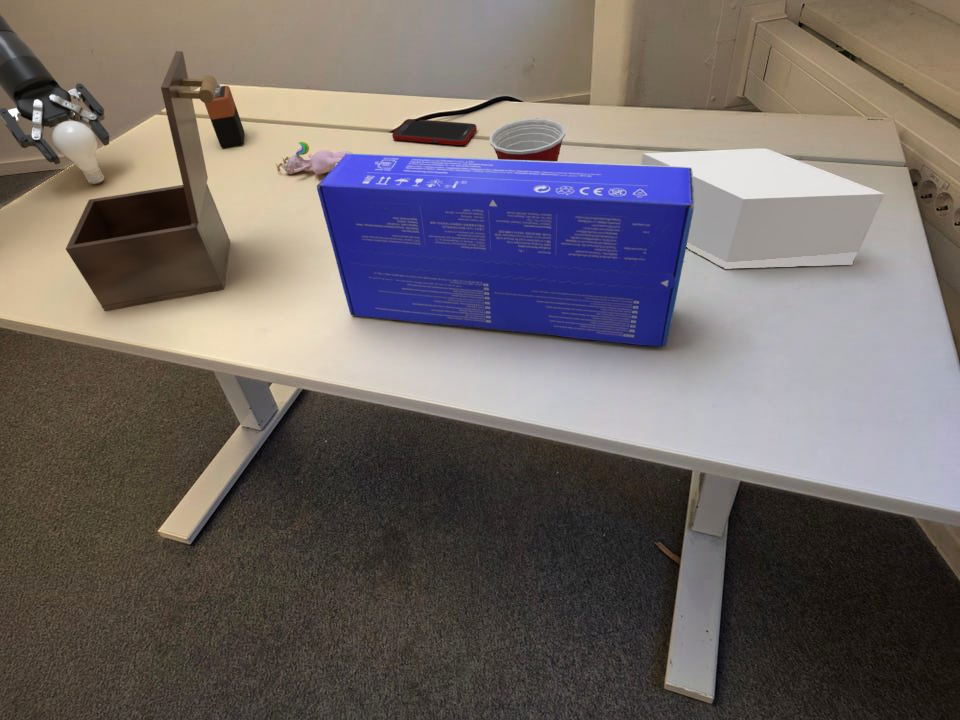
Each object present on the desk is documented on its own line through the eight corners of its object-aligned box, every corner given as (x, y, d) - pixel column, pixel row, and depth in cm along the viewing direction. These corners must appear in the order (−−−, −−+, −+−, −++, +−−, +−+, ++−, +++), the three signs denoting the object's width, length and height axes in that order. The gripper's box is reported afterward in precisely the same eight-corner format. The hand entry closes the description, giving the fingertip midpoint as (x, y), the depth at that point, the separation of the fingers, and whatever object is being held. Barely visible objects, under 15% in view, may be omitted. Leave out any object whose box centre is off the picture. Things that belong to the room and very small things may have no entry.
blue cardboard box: (666, 305, 75) (694, 165, 62) (665, 351, 69) (696, 207, 56) (371, 278, 82) (342, 147, 70) (348, 317, 77) (312, 183, 64)
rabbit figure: (277, 185, 106) (352, 178, 101) (262, 153, 102) (339, 144, 97) (294, 169, 110) (366, 161, 105) (280, 137, 106) (354, 128, 102)
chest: (104, 311, 81) (65, 249, 74) (122, 259, 90) (88, 199, 83) (224, 289, 83) (196, 226, 76) (230, 240, 91) (206, 180, 85)
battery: (221, 149, 115) (201, 95, 108) (222, 135, 120) (203, 83, 113) (244, 145, 116) (226, 92, 109) (244, 131, 121) (227, 79, 114)
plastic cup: (499, 188, 98) (496, 114, 90) (566, 191, 96) (569, 116, 88) (486, 224, 91) (481, 147, 82) (558, 228, 89) (561, 150, 80)
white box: (648, 196, 94) (658, 131, 86) (857, 237, 83) (888, 166, 76) (617, 245, 85) (625, 177, 77) (846, 297, 74) (880, 224, 67)
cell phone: (407, 123, 119) (406, 118, 118) (478, 128, 115) (477, 123, 114) (391, 140, 113) (390, 135, 113) (465, 146, 110) (464, 141, 109)
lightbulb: (87, 195, 105) (52, 133, 97) (73, 184, 108) (38, 124, 100) (123, 181, 108) (92, 120, 100) (108, 171, 111) (77, 111, 104)
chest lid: (160, 87, 64) (206, 88, 66) (175, 50, 73) (216, 52, 75) (191, 223, 75) (231, 223, 76) (201, 177, 84) (236, 178, 85)
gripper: (-34, 69, 94) (37, 157, 97) (58, 42, 102) (122, 125, 104) (-24, 96, 101) (43, 179, 103) (62, 70, 108) (122, 147, 110)
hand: (83, 152), depth 103 cm, fingers open, 8 cm apart
